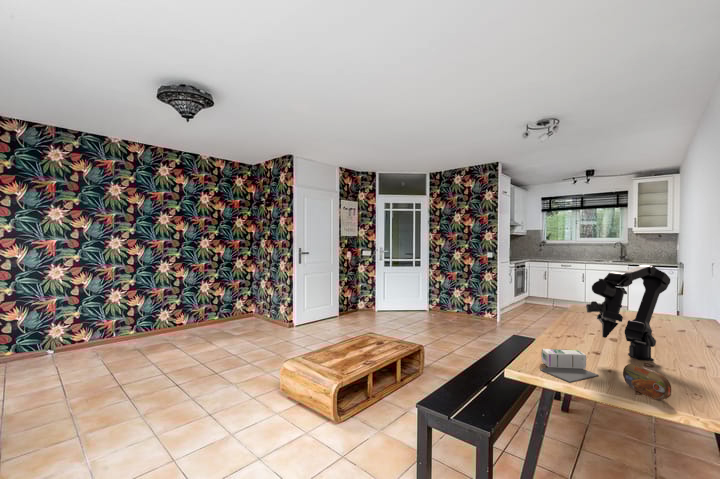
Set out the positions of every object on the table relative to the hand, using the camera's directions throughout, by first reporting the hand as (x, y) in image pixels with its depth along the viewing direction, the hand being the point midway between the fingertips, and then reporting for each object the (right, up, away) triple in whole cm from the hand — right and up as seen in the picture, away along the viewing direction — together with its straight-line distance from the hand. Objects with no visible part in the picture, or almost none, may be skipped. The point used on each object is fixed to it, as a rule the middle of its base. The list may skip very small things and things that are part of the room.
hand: (604, 337), depth 135 cm
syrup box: (-11, -8, -3) cm, 14 cm away
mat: (-20, -11, -9) cm, 25 cm away
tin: (-5, -12, -25) cm, 28 cm away
